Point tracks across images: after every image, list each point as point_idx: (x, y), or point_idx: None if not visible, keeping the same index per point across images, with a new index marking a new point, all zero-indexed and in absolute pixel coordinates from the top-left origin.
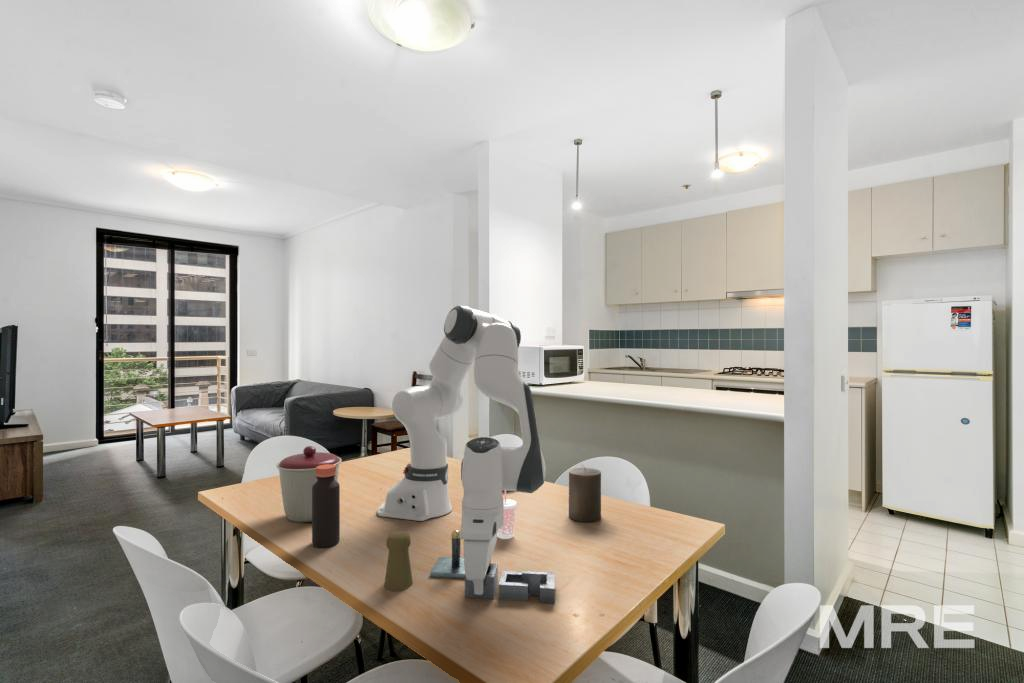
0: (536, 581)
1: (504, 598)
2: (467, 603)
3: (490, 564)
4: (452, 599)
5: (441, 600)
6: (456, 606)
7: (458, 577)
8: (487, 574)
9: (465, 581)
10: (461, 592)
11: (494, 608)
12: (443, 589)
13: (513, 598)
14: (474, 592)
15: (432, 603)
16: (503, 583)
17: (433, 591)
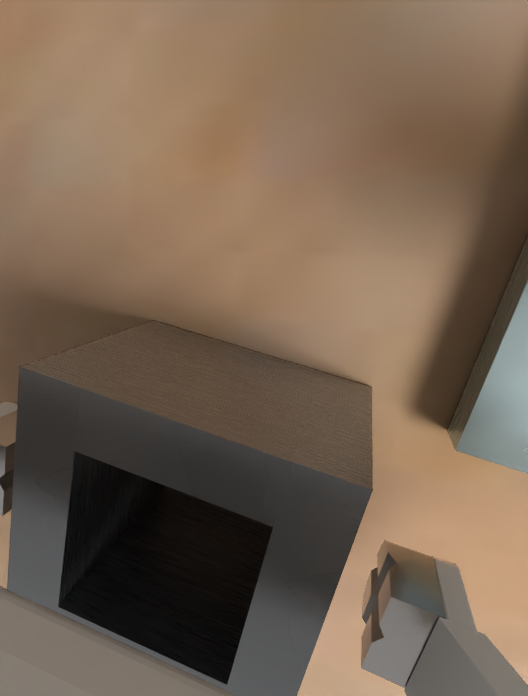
0: None
1: None
2: (78, 330)
3: (270, 691)
4: (130, 221)
5: (119, 126)
6: (43, 250)
7: (507, 286)
8: (47, 592)
9: (67, 353)
10: (227, 298)
11: None
12: (297, 132)
13: None
14: (3, 403)
15: (78, 47)
16: None
17: (273, 26)
